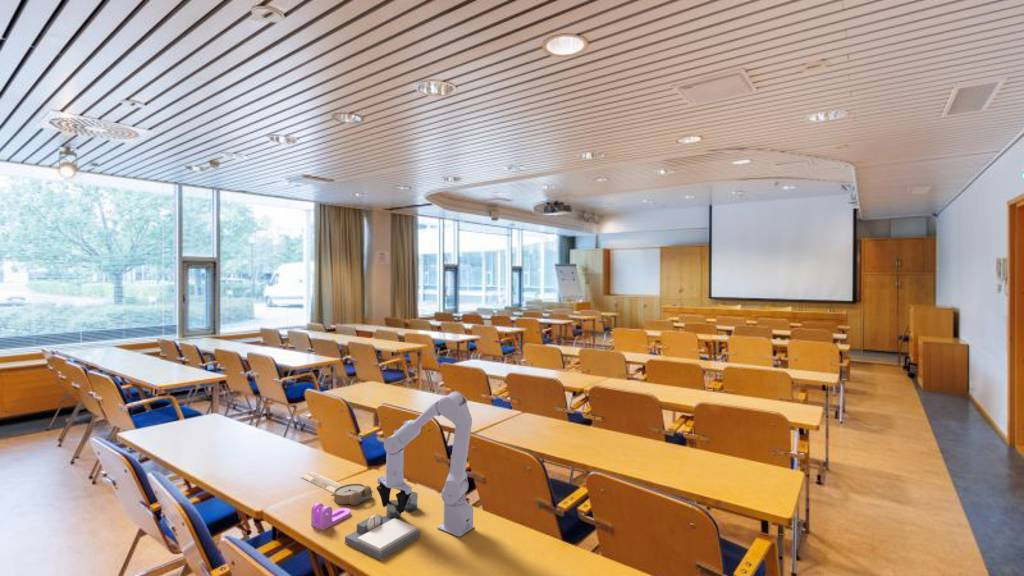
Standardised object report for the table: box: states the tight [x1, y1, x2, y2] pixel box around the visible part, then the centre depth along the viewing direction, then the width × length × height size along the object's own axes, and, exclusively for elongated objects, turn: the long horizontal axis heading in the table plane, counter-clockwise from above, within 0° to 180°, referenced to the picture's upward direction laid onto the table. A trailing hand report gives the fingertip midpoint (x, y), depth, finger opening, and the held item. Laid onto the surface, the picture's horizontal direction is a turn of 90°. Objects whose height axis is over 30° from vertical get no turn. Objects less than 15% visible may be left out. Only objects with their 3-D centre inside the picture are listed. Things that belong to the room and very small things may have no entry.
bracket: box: [310, 502, 352, 531], centre depth 164 cm, size 13×6×7 cm, turn 150°
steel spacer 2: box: [404, 491, 418, 513], centre depth 173 cm, size 5×5×5 cm
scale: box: [344, 513, 421, 561], centre depth 152 cm, size 16×16×6 cm
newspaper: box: [301, 471, 344, 494], centre depth 192 cm, size 24×7×2 cm, turn 53°
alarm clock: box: [330, 483, 374, 506], centre depth 180 cm, size 11×5×15 cm
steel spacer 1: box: [386, 499, 402, 520], centre depth 167 cm, size 5×5×5 cm
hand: (393, 509), depth 167 cm, fingers open, 7 cm apart
